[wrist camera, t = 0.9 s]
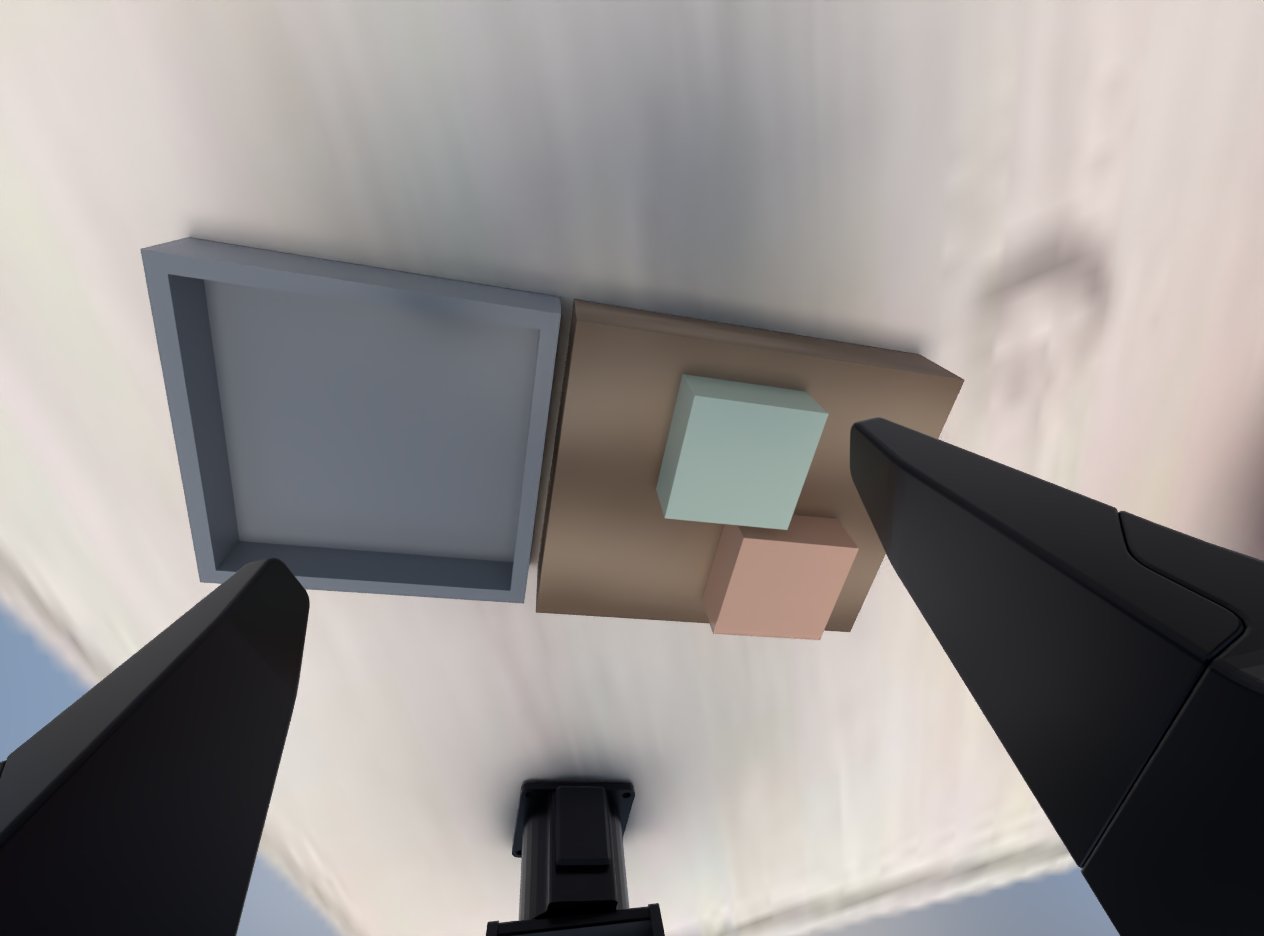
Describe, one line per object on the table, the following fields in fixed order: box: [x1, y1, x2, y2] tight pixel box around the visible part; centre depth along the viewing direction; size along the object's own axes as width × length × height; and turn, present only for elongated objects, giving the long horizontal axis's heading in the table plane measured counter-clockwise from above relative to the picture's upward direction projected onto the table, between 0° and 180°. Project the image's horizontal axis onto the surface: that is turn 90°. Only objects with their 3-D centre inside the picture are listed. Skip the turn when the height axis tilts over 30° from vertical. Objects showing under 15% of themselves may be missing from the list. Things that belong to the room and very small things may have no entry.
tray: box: [141, 238, 561, 603], centre depth 22 cm, size 12×12×2 cm
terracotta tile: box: [702, 515, 859, 640], centre depth 23 cm, size 4×4×2 cm
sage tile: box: [656, 374, 829, 530], centre depth 21 cm, size 4×4×2 cm
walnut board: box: [536, 299, 964, 632], centre depth 24 cm, size 12×14×3 cm
